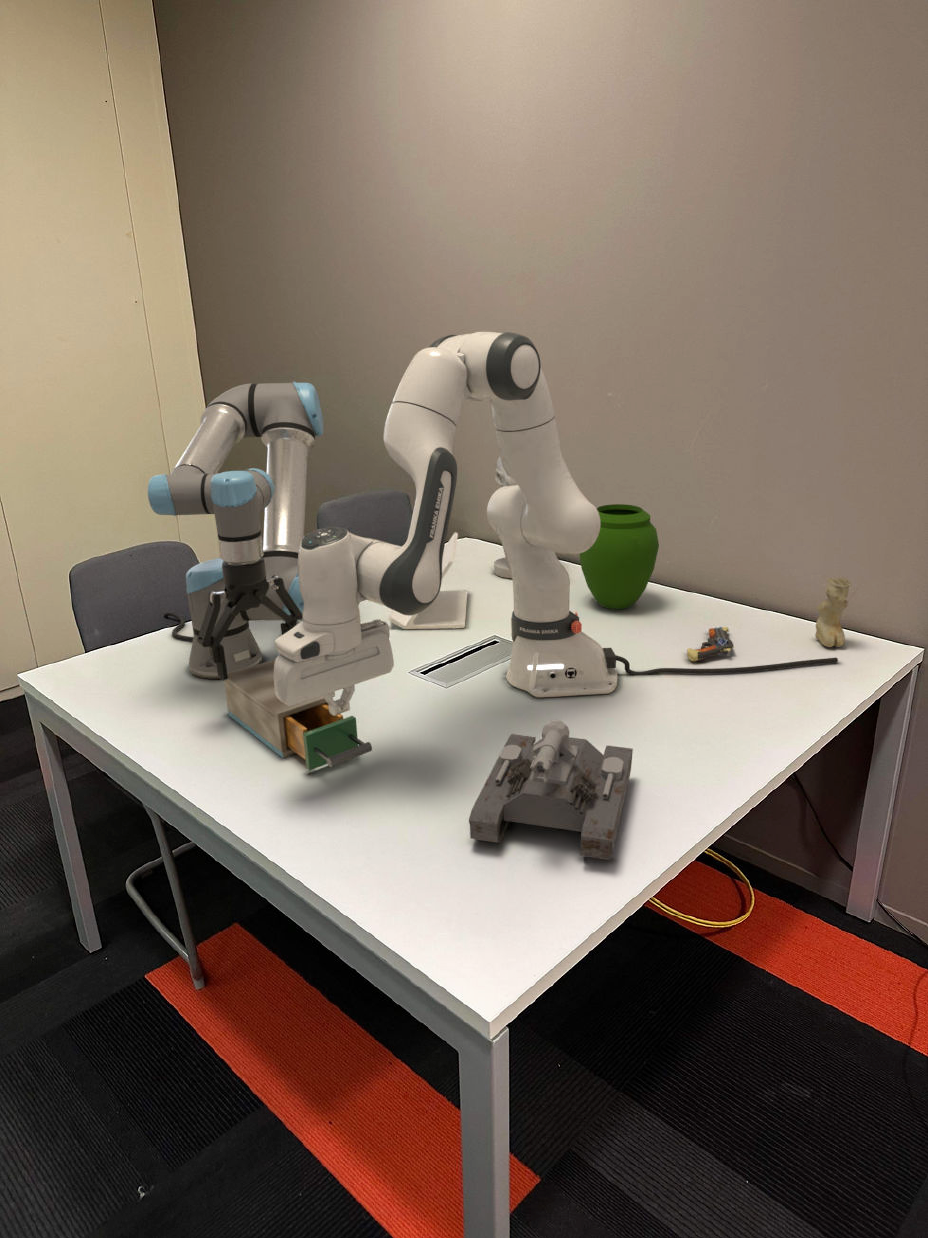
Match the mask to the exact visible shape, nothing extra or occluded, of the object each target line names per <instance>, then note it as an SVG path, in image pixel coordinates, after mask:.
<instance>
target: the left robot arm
mask: <svg viewBox="0 0 928 1238" xmlns="http://www.w3.org/2000/svg"><path fill="white" fill-rule="evenodd" d="M322 412H323V411H322V407H321V402H320V399H319V395H318V392H317V389H316V388H315V386H314V385H313V384H312V383H310V382H296V381H292V382H271V383H267V382H266V383H244V384H240V385H237V386H234V387H231V388H230V389H228V390H226V391H224V392H222V393H221V394H220V395H218V396H217V397H215V398H214V399H213V400H212V401H211V402H209V404H208V405H207V406H206V407H205V409H204V411H203V412H202V413H201V416H200V427H199V428H198V430H197V431H196V433H195V435H194V436H193V438H191V440H190V442H189V444H188V446H187V447H186V449H185V450H184V452H183V453H182V456H180V459H179V460H178V461H177V463H176V465H175V466H174V468H173V470H172V471H171V472H170V474H168V473H167V474H166V473H163V474H156V475H153V476H152V477H151V478H150V479H149V481H148V485H147V498H148V502H149V503H148V504H149V506H150V508H151V510H152V511H153V512H154V513H155V514H157V515H159V516H174V517H177V516H196V515H197V516H198V515H214V520H215V527H216V532H217V541H218V549H219V554H220V557H217V558H213V559H209V560H206V561H202V562H200V563H197V564H195V565H193V566H192V567H190V568H189V570H187V572H186V574H185V584H186V590H185V592H186V594H187V601H188V608H189V612H190V613H189V614H190V620H191V626H192V632H193V636H190V635H189V636H188V635H182V634H179V633H178V631H180V630H181V629H182V628H183V627H184V626H185V624H186V621H185V619H184V618H183V617H182V616H181V615H179V614H178V613H175V612H174V611H166V612H165V613H164V614H163V617H162V618H164V619H167V618H168V617H169V616H170V617H173V618H175V619H177V620H178V621H179V624H178V625H176V626H175V627H174V628H173V629H172V631H171V635H172V636H173V637H174V638H175V639H177V640H182V641H189V642H192V644H191V648H190V654H189V659H188V666H189V671H190V673H191V674H192V675H194V676H196V677H198V678H203V679H208V680H209V679H211V680H219V679H221V680H223V681H224V680H226V679H228V675H227V674H228V673H231V672H235V671H238V670H241V669H245V668H248V667H252V666H255V665H258V664H262V663H263V655H262V650H261V648H260V646H259V644H258V642H257V641H256V639H255V636H254V634H253V632H252V630H251V628H250V622H251V621H252V622H253V621H254V622H255V621H257V622H258V621H261V622H262V621H283V622H281V623H280V624H279V626H280V634H281V636H282V635H283V634H285V633H286V632H288V631H289V630H291V629H292V628H294V627H295V626H296V625H298V621H300V620H303V618H302V613H303V608H304V602H303V598H302V596H301V593H300V588H299V577H298V553H299V547H300V544H301V541H302V539H303V538H304V537H305V531H306V529H305V528H306V502H307V479H308V476H307V475H308V452H309V451H310V450H311V449H312V448H313V447H315V444H316V437H320V436H323V434H324V418H323V413H322ZM246 438H261V442H262V444H263V445H264V446H265V447H266V448H267V459H266V471H264V470H262V469H260V468H247V469H244V470H230V471H228V470H227V471H223V472H220V471H221V469H222V467H223V465H224V463H225V462H226V460H227V458H228V456H229V454H230V453H231V450H232V448H233V447H234V446H235V445H237V444H239V443H240V442H241V441H242V440H243V439H246ZM219 472H220V473H219ZM263 510H264V519H263V520H264V521H263V536H262V530H261V521H260V514H261V512H262V511H263ZM262 537H263V539H262Z"/></svg>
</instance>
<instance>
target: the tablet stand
mask: <svg viewBox="0 0 928 1238" xmlns="http://www.w3.org/2000/svg"><path fill="white" fill-rule="evenodd" d="M458 537H459V533H458V532H456V531H455V532H453V534H452V535H451V537H450V539H449V540H448V542H447V543H446V544H445V546H444V552H443V559H442V579H443V578H444V577H445V575H446V574H447V573H448V571H449V570H450V569H451V567H452V566H453V564H454V562H455V558H456V553H457V545H458ZM467 605H468V591H467V590H440V591H439V594H438V596H437V597H436V599H435V600H434V602H433V603H432V604H431V605H430V606H429V607H427V608H426V609H425V610H423V611H422V612H420V613H418V614H415V615H410V616H408V615H403V614H401V613H399V612H396V611H394V610H392V609H391V610H390V612H389V613H390V614H389V617H388V621H389V622H391V623H392V624H394V625H396V626H398V627H399V628H401V629H402V630H426V629H427V630H429V629H430V630H431V629H435V630H436V629H437V630H438V629H464V628H465V627H466V618H467V617H466V616H467Z"/></svg>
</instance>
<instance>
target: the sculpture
mask: <svg viewBox="0 0 928 1238" xmlns="http://www.w3.org/2000/svg"><path fill="white" fill-rule="evenodd" d="M826 581H827V586H826V588H825V590H824V593H825V595H826V596H827V598H826V600H824V601H822V602H821V603H820V604H819V605H818V606H817V609H816V610H817V612H818V614H819V616H818V617H817V619H816V623H815V630H816V631H815V634H814V635H815V639H817V640H819V642H820V643H821V644H822V645H823V646H825V647H827V648H832V647H834V646H835V647H843V646H844V645H845V643H846V642H845V641H846V636H845V632H844V630H843V626H842V624H841V622H840V621H841V617H842V615H843V612H844V610H845V609H846V608H847V606H848V604H849V603H848V602H849V601H847V598H848V597H849V592H850V586H851V585H852V582H850V580H848V579H847V578H845V577H841V576H840V577H835V578H831V577H827V578H826Z"/></svg>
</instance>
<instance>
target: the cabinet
mask: <svg viewBox="0 0 928 1238" xmlns="http://www.w3.org/2000/svg"><path fill="white" fill-rule="evenodd" d="M275 660H276V659H272V660H269V661H265V662H262V663H261V664H258V665H255V666H252V667H248V668H245V669H241V670H238V671H235V672H231V673H228V674H227V675H228V679H226V680H223V683H224V691H225V698H226V704H227V713H228V716H229V717H230V718H231V719H232V720H234V721H235V722H236V723H238V724H239V725H240V726H241V727H242V728H244V729H245V730H246V731H248V732H249V733H250V734H252V735H253V736H254V737H256V739H257V740H260V742H261V743H263V744H264V745H265V746H267V747H268V748H269V749H271V750H272V751H273V752H274V753H276V754H277V755H278V756H280V758H282V759H284V758H286V757H289V756H292V755H294V754H297V753H296V752H294V751H293V750H292V749H290V748H289V747H288V746H286V738H285V729H284V720H283V717H286V716H288V715H291V714H294V713H297V712H300V711H303V710H306V709H309V708H312V707H314V706H317V705H320V704H323V703H324V704H326V705H327V706H329V705H328V703H327V702H326V701H325V699H324V698H323V697H322V696H319V697H316V698H313V699H311V700H308V701H305V702H302V703H299V704H296V705H293V706H288V705H286V704H285V703H283V702H281V701H280V700H279V699H278V698H277V697H276V694H275V688H274V663H275ZM332 699H333V700H334V697H332Z"/></svg>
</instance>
